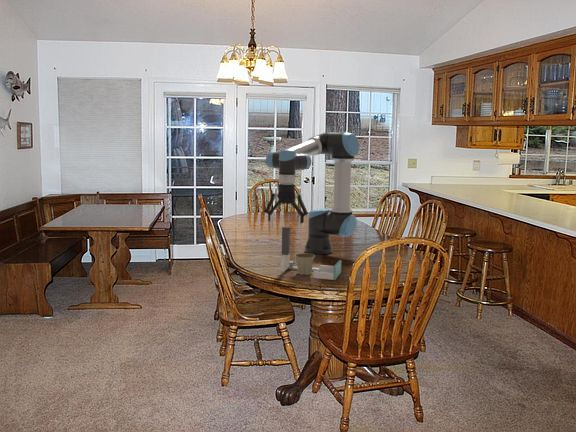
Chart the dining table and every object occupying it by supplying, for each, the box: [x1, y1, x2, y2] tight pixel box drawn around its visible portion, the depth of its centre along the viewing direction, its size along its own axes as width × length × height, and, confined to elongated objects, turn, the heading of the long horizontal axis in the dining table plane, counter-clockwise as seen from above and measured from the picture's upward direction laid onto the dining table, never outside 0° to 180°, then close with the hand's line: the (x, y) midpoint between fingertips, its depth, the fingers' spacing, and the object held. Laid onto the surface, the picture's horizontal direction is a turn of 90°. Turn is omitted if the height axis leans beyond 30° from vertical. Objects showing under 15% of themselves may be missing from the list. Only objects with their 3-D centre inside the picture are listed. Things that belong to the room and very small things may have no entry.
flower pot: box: [294, 252, 316, 276], centre depth 285 cm, size 9×9×9 cm
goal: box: [313, 259, 342, 281], centre depth 282 cm, size 14×10×6 cm
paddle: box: [280, 225, 295, 272], centre depth 288 cm, size 13×4×20 cm, turn 165°
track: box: [286, 265, 320, 272], centre depth 293 cm, size 2×17×1 cm, turn 75°
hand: (285, 229), depth 285 cm, fingers open, 13 cm apart
